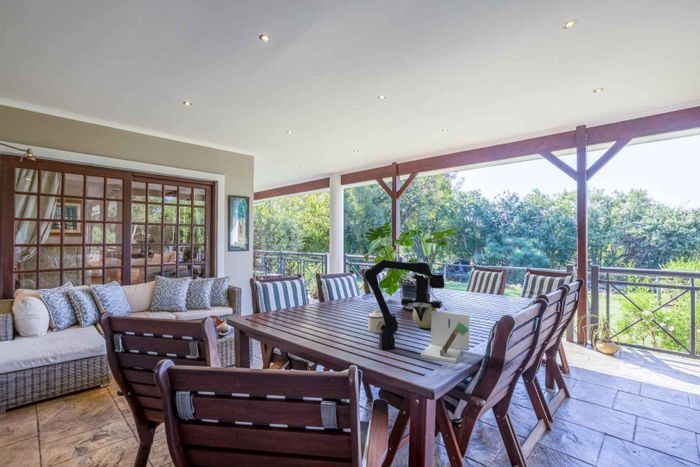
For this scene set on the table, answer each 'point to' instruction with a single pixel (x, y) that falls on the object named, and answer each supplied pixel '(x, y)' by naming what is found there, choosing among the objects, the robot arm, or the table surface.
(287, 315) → the table surface
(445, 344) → the lever
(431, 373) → the table surface
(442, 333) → the gauge base
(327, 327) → the table surface
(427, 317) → the cantaloupe
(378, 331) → the teacup with lid
